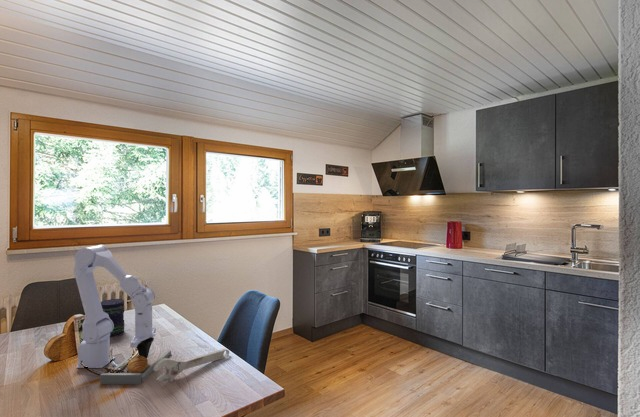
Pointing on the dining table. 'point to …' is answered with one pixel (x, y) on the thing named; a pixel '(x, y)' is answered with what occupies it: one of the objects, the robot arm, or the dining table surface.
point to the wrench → (186, 364)
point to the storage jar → (115, 315)
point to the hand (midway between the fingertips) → (143, 358)
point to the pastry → (137, 364)
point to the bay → (129, 374)
